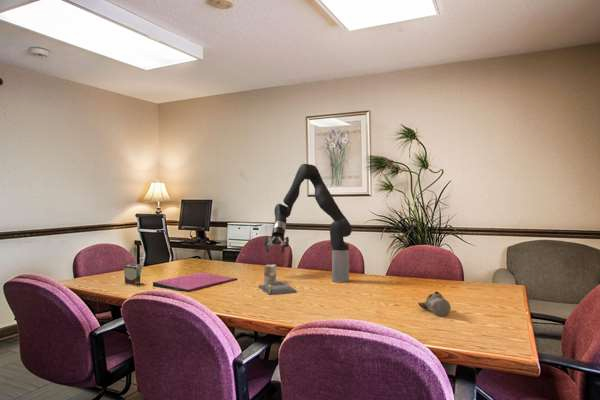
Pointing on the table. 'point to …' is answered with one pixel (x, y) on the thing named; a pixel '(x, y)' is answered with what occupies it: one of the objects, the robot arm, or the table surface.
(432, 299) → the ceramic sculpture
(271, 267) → the birch block
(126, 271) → the food container
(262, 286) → the fixture plate
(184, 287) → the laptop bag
